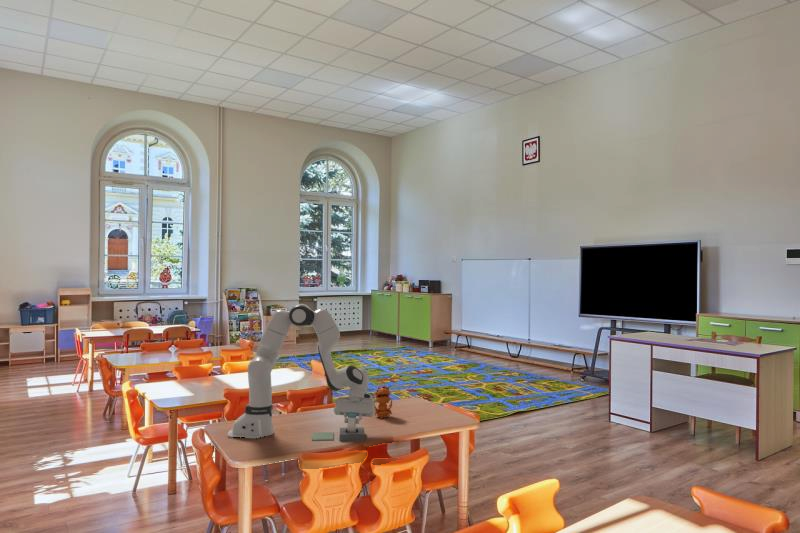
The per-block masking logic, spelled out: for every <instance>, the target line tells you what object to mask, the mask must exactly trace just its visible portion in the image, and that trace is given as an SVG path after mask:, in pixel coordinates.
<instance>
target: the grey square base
mask: <svg viewBox="0 0 800 533" xmlns="http://www.w3.org/2000/svg"><path fill="white" fill-rule="evenodd" d="M365 435H366V433H365V427H362V426H361V427H357V426H356V433H347V427H339V439H338V440H339V442H349V441H350V442H359V441H365V439H366V438H365V437H366V436H365Z"/></svg>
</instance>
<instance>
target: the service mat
mask: <svg viewBox="0 0 800 533" xmlns="http://www.w3.org/2000/svg"><path fill="white" fill-rule="evenodd" d="M334 435H335V434H334V431H330V432H329V431H327V432H322V431H321V432H318V431H317V432H315V431H314V432H313V434H312V438H311V441H313V442H314V441H315V442H317V441H319V442H320V441H322V442H323V441H324V442H325V441H327V442H328V441H334Z"/></svg>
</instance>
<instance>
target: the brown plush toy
mask: <svg viewBox="0 0 800 533" xmlns="http://www.w3.org/2000/svg"><path fill="white" fill-rule="evenodd" d="M390 390H391V389H390V386H386V385H382V386H381V387H380V386H378V387H377V389H376V391H375V392H374V396H375V401H376V402H377V403H378V406H377V407H376V405H375V402H374V408H375V411H374V416H377V418H378V417H387V418H388V417H390V416H391V415H393V413H392V410H391V409H392V407H393V400H392V399H391V396H390V395H391V393H392V392H391V391H390ZM388 403H390V404H389V405H388Z"/></svg>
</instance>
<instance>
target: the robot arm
mask: <svg viewBox="0 0 800 533" xmlns="http://www.w3.org/2000/svg"><path fill="white" fill-rule="evenodd" d="M293 325H294V326H296V327H304V326H311V327H312V328H313V330H314V332H315V334H316V336H317V339H318V346H317V352H318V355H319V358H320V361H321V365H322V368H323V371H324V375H325V379H326V385H327V387H328V388H329V389H330V390H332V392H333V391H334V392H339V391H342V390H343V389H344V388H347V387H349V390H348V391H349V392H348V397H342V396H341V397H337V398H336V400H335V404H334V407H333V412H334V414H335V416H343V418H344V423H345V424H348V417H347V416H348V413H349V412H352V413H357V416H356V417H358V418H356V425H359V424H360V421H361V420H363V417H366V418H373V417H374V416H375V408H374V403H375V400H374V397H373V395H372V394H369V393H367V390H368V388H369V383H370V374H369V372H368V370H366V369H365V368H362V367H359V368H358V367H356V366H355V365H352V364H351V365H347V366H344V367H342V368H340V369H336V367H335V364H334V361H333V358H332V352H333V349H334V348H335V347H336V346H337V345H338V343H339V341H340V338H341V333H340V330H339V327H338V326H337V324H336V322H335V320H334V318H333V317H332V314H330V312H329V311H328V310H327V309H325V308H319V309H316V310H313V309H312V307H311V306H310V304H306V303H298V304H296V305H294V306H293V307H292V308H291V309H290V310H286V309H277V310H275V311H274V312H273V313H272V315H271V317H270V318H269V320H268V322H267V324H266V326H265V329H264V331H263V334H262V335H261V338H260V341H259V344H258V345H257V346H258V347H257V350H256V352H255V355H254V357H253V358H252V359H251V360H250V361H249V363H248V366H247V380H248V388H249V389H248V390H249V392H248V393H249V394H248V403H247V404H245V406H244V413H242V414H241V415H240V416H239V417H238V418H236V419H235V421H234V422H233V425H232V427H231V429H230V430H229V431H228V432H227V437H229V438H233V437H240V438H239V439H242V438H241V437H245V438H244V439H256V438H257V439H261V438H264V436H265V437H269V436H271V435H274V434H275V430H274V429H275V428H274V424H273V412H274V411H273V409H274V408H273V404H272V403H273V402H272V401H273V400H272V398H273V387H272V374H271V373H272V371H273V369H274V368H275V364H276V363H277V359H278V357H279V354H280V352H281V349H282V347H283V344H284V342H285V341H286V340H285V339H286V337H287V335H288V334H289V331H290V329H291V327H292V326H293ZM260 437H261V438H260Z"/></svg>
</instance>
